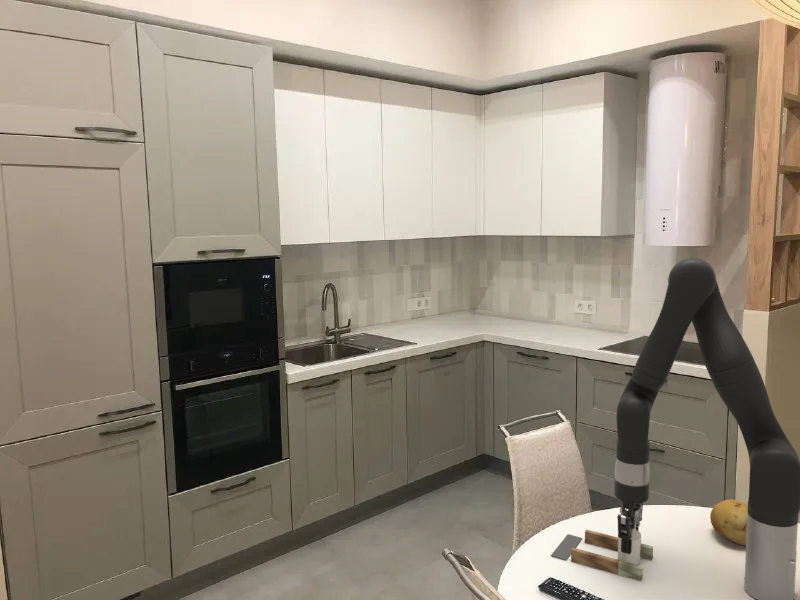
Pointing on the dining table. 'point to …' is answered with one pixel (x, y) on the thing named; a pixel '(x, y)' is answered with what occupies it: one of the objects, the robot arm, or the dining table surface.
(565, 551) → the plate
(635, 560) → the eye dropper bottle
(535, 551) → the dining table surface
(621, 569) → the walnut channel
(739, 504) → the potato
